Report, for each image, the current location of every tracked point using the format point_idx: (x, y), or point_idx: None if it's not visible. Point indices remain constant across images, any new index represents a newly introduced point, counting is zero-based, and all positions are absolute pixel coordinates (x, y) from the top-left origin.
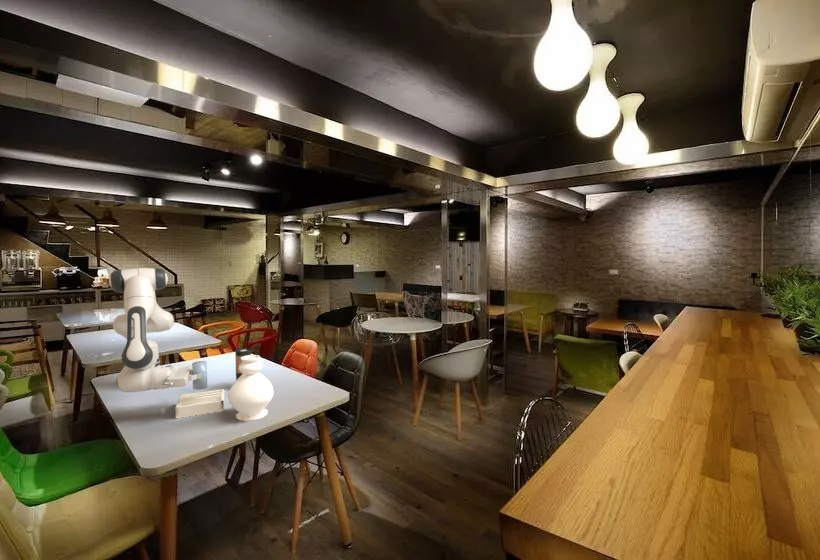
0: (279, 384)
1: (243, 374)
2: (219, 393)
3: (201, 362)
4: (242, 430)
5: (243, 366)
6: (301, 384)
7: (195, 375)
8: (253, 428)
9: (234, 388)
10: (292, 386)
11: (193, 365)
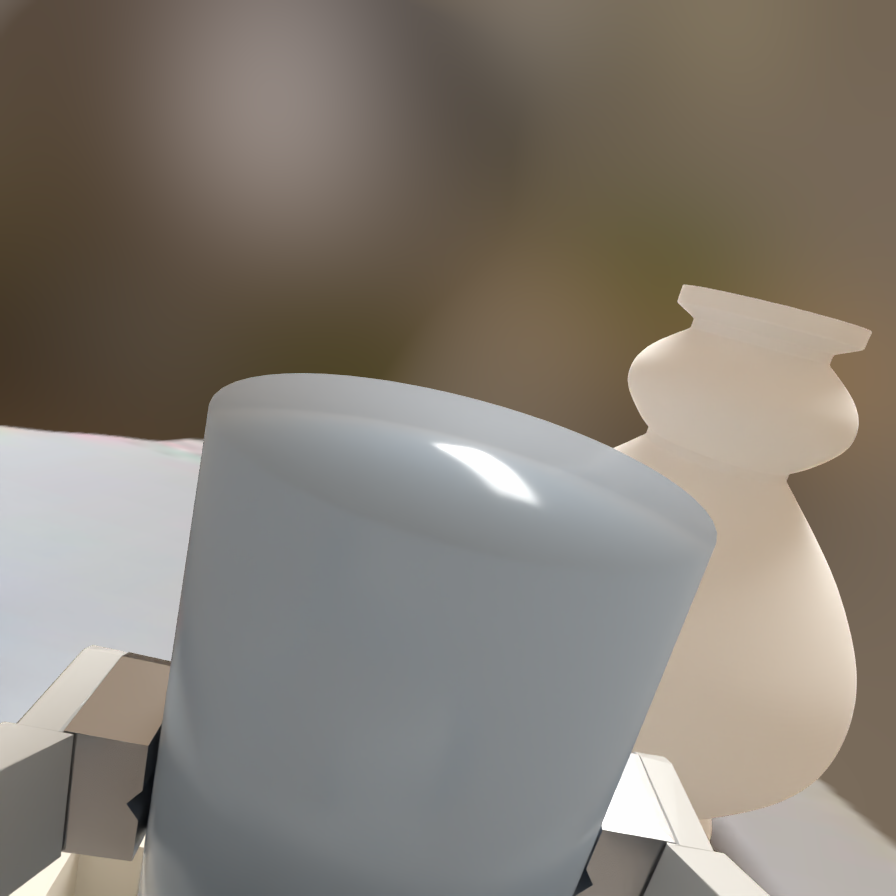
0: (62, 513)
1: (766, 483)
2: (63, 871)
3: (457, 426)
4: (884, 891)
5: (853, 403)
6: (188, 478)
7: (752, 893)
8: (834, 821)
9: (823, 643)
10: (181, 501)
11: (655, 620)
